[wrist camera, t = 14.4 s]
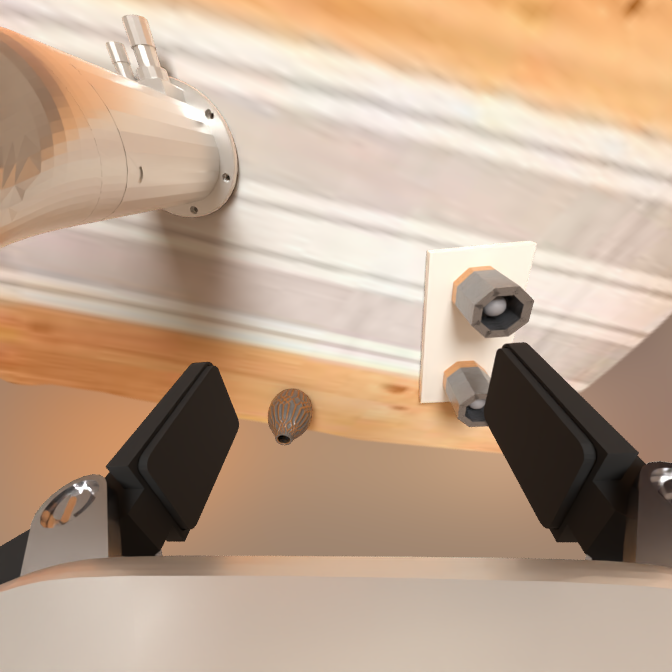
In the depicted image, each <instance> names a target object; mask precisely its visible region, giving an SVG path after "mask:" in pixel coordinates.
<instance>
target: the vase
mask: <svg viewBox="0 0 672 672" xmlns="http://www.w3.org/2000/svg"><path fill="white" fill-rule="evenodd" d="M311 417H312V406H311V402H310V400H309V398H308V397H307V395H306V394H305V393H303V392H302V391H300V390H297V389H287V390H284V391H282V392H280V393H279V394H278V395H277V396H276V397H275V398H274V399H273V401H272V403H271V405H270V407H269V411H268V423H269V427H270V429H271V430H272V432H273V434H274V435H275V439H276V441H277V442H278V443H279V444H281V445H289V444H290V443H291V442H292V441H293V440H294V439H295V438H297V437H299V436H300V435H302V434H303V433H304V432H305V431H306V429H307V428H308V426H309V424H310V421H311Z"/></svg>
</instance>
